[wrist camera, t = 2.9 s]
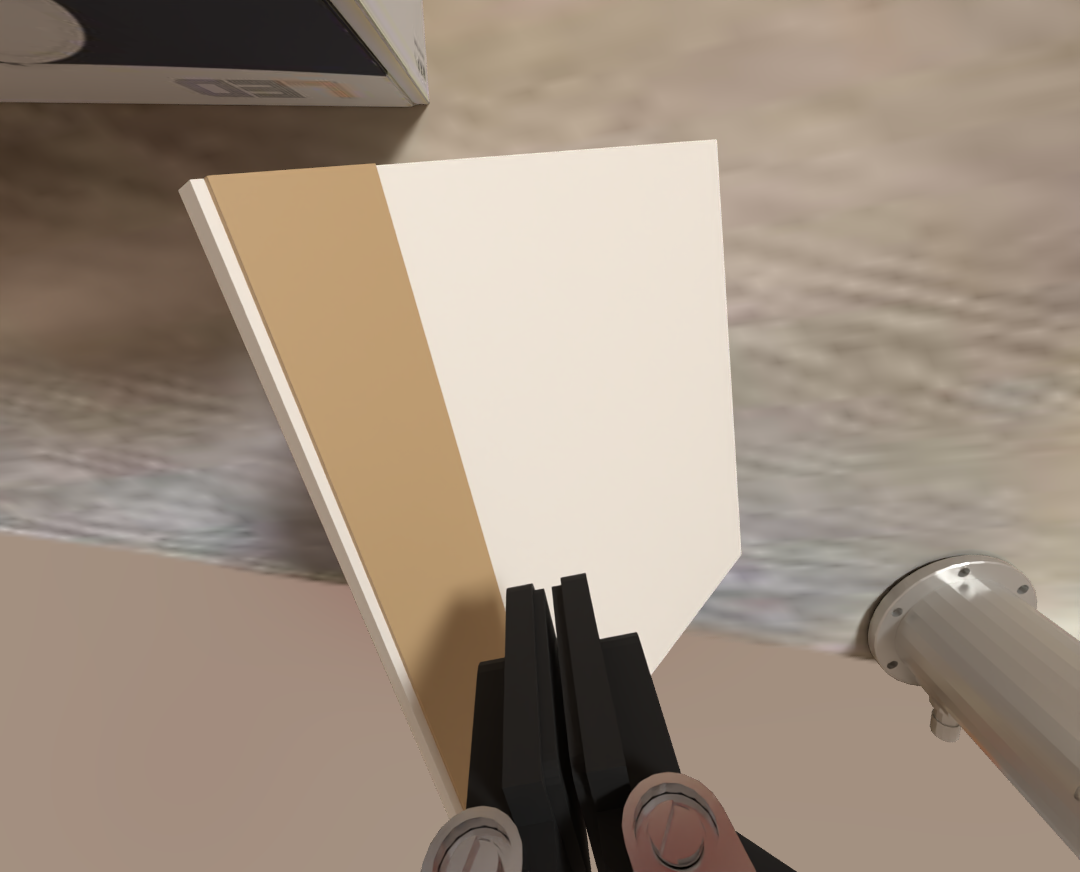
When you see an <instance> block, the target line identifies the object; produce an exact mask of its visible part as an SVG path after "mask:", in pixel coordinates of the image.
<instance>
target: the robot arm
mask: <svg viewBox="0 0 1080 872" xmlns="http://www.w3.org/2000/svg"><path fill="white" fill-rule="evenodd" d="M560 580H561V585H558V586H553V587H552V597H553V606H554V616H555V625H556V634H555V630H554V626H553V622H552V618H551V614H550V610H549V606H548V602H547V598H546V594H545V590H544V588H543V589H538V590H535V588H534V585H533V584H532V583H531V584H526V585H521V586H516V587H510V588H507V589H506V621H505V657H504V658H499V659H493V660H488V661H483V662H480V663H479V665H478V671H477V681H476V693H475V705H474V717H473V729H472V742H471V754H470V766H469V778H468V790H467V803H466V810H464V811H462V812H461V813H459V814H457V815H455V816H453V817H452V818H451V819H450V820H449V821H448V822H447V823H446V824H445V825H444V826H443V827H442V828H441V829H440V830H439V832H438V833H437V835H436V836H435V838H434V839H433V841H432V842H431V843H430V846H429V848H428V851H427V854H426V856H425V859H424V861H423V865H422V869H421V872H591V866H590V857H589V849H588V841H587V833H586V829H587V832H588V836H589V840H590V843H591V847H592V851H593V854H594V858H595V862H596V866H597V869H598V872H796V871H795V870H793V869H792V868H790V867H789V866H787V865H786V864H784V863H783V862H781V861H780V860H778V859H777V858H775V857H774V856H772V855H771V854H769V853H768V852H766V851H765V850H763V849H762V848H760V847H759V846H757V845H756V844H754V843H753V842H751V841H750V840H748V839H747V838H745V837H744V836H742V835H741V834H739V833H738V832H736V831H735V829H734V828H733V826H732V824H731V822H730V820H729V818H728V816H727V814H726V812H725V810H724V808H723V807H722V805H721V804H720V802H719V801H718V799H717V798H716V796H715V795H714V794H713V792H711V791H710V790H709V789H708V788H707V787H706V786H704V785H703V784H702V783H701V782H700V781H698V780H696V779H694V778H692V777H689V776H687V775H685V774H681V773H680V769H679V766H678V762H677V759H676V756H675V753H674V749H673V746H672V743H671V740H670V736H669V733H668V730H667V726H666V723H665V720H664V717H663V713H662V710H661V707H660V704H659V700H658V697H657V694H656V691H655V687H654V684H653V681H652V678H651V674H650V671H649V668H648V665H647V661H646V658H645V655H644V652H643V648H642V645H641V642H640V639H639V636H638V633H637V632H634V633H628V634H623V635H618V636H613V637H608V638H603V639H600V638H599V634H598V629H597V624H596V619H595V615H594V610H593V605H592V600H591V596H590V591H589V586H588V581H587V577H586V573H582V574H576V575H571V576H566V577H561V578H560ZM1036 609H1037V597H1036V592H1035V589H1034V587H1033V585H1032V583H1031V581H1030V580H1029V579H1028V578H1027V577H1026V576H1025V575H1024V574H1023V573H1022V572H1021V571H1019V570H1018V569H1016V568H1015V567H1013V566H1012V565H1011V564H1009V563H1007V562H1005V561H1003V560H1000V559H998V558H995V557H990V556H985V555H963V556H956V557H950V558H947V559H943V560H940V561H937V562H934V563H932V564H929V565H927V566H925V567H923V568H920V569H918V570H917V571H915V572H914V573H912V574H910V575H909V576H907V577H905V578H904V579H903V580H902V581H901V582H899V583H898V584H897V585H896V586H894V587H893V588H892V589H891V590H890V591H889V593H888V594H887V595H886V596H885V597H884V598H883V599H882V601H881V602H880V604H879V605H878V607H877V608H876V610H875V612H874V615H873V617H872V619H871V622H870V625H869V631H868V644H869V648H870V651H871V653H872V656H873V657H874V658H875V660H876V661H877V662H878V664H879V665H880V666H881V667H882V668H883V669H884V670H885V671H886V673H888V674H889V675H890V676H892V677H894V678H895V679H896V680H898V681H901V682H904V683H907V684H911V685H917V686H922V688H923V689H924V690H925V691H926V692H927V694H928V695H929V701H930V703H931V704H932V706H933V707H934V709H933V711H932V715H931V721H930V728H931V731H932V733H933V734H934V735H935V736H936V737H938V738H939V739H941V740H943V741H947V742H956V741H957V740H959V735H960V730H961V727H962V729H964V731H965V732H966V733H967V734H968V735H969V736H970V737H971V739H972V740H973V741H974V742H975V743H976V744H977V745H978V746H979V747H980V749H981V750H982V751H983V752H984V753H985V754H986V755H987V756H988V758H989V759H990V760H991V761H992V762H993V763H994V764H995V765H996V766H997V768H998V769H999V770H1000V771H1001V772H1002V773H1003V774H1004V776H1005V777H1006V778H1007V779H1008V780H1009V781H1010V782H1011V783H1012V785H1013V786H1014V787H1015V788H1016V789H1017V790H1018V791H1019V792H1020V793H1021V795H1022V796H1023V797H1024V798H1025V799H1026V800H1027V801H1028V802H1029V804H1030V805H1031V806H1032V807H1033V808H1034V809H1035V810H1036V811H1037V812H1038V814H1039V815H1040V816H1041V817H1042V818H1043V819H1044V820H1045V821H1046V823H1047V824H1048V825H1049V826H1050V827H1051V828H1052V829H1053V830H1054V831H1055V832H1056V834H1057V835H1058V836H1059V837H1060V838H1061V839H1062V840H1063V842H1064V843H1065V844H1066V845H1067V846H1068V847H1069V848H1070V849H1071V851H1072V852H1073V853H1074V854H1075V855H1076V856H1077V857H1078V858H1079V859H1080V641H1079V640H1077V639H1076V638H1075V637H1073V636H1072V635H1070V634H1069V633H1068V632H1066V631H1065V630H1064V629H1062V628H1061V627H1059V626H1058V625H1057V624H1055V623H1054V622H1053V621H1051V620H1050V619H1049V618H1047V617H1046V616H1044V615H1043V614H1042V613H1040V612H1039V611H1038V610H1036ZM556 635H557V638H556Z"/></svg>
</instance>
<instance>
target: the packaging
mask: <svg viewBox="0 0 1080 872" xmlns="http://www.w3.org/2000/svg"><path fill="white" fill-rule="evenodd" d="M0 102H43V103H127V104H210V105H294V106H378V107H412V106H413V105H417V104H427V105H428V103H429V88H428V73H427V58H426V44H425V29H424V14H423V0H0Z"/></svg>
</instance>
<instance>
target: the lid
mask: <svg viewBox="0 0 1080 872" xmlns="http://www.w3.org/2000/svg"><path fill="white" fill-rule="evenodd" d="M178 191H179V194H180V196H181V198H182V201H183V203H184V205H185V208H186V210H187V212H188V215H189V217H190V219H191V221H192V224H193V226H194V228H195V231H196V233H197V235H198V238H199V240H200V242H201V245H202V247H203V249H204V252H205V254H206V256H207V259H208V261H209V263H210V266H211V268H212V270H213V272H214V275H215V277H216V279H217V282H218V284H219V286H220V289H221V291H222V293H223V296H224V298H225V300H226V303H227V305H228V307H229V310H230V312H231V314H232V317H233V319H234V321H235V323H236V326H237V328H238V330H239V333H240V335H241V337H242V340H243V342H244V344H245V347H246V349H247V351H248V354H249V356H250V358H251V361H252V363H253V365H254V367H255V370H256V372H257V374H258V377H259V379H260V381H261V384H262V386H263V388H264V391H265V393H266V395H267V398H268V400H269V402H270V405H271V407H272V409H273V412H274V414H275V416H276V418H277V421H278V423H279V425H280V428H281V430H282V432H283V435H284V437H285V439H286V442H287V444H288V446H289V449H290V451H291V453H292V456H293V458H294V460H295V462H296V465H297V467H298V469H299V472H300V474H301V476H302V479H303V481H304V483H305V486H306V488H307V490H308V493H309V495H310V497H311V500H312V502H313V504H314V507H315V509H316V511H317V513H318V516H319V518H320V520H321V523H322V525H323V527H324V530H325V532H326V534H327V537H328V539H329V541H330V544H331V546H332V548H333V551H334V553H335V555H336V557H337V560H338V562H339V564H340V567H341V569H342V571H343V574H344V576H345V578H346V581H347V583H348V585H349V588H350V590H351V592H352V594H353V597H354V599H355V602H356V604H357V606H358V608H359V611H360V613H361V615H362V617H363V620H364V622H365V625H366V627H367V629H368V632H369V634H370V636H371V639H372V641H373V643H374V646H375V648H376V650H377V652H378V655H379V657H380V659H381V662H382V664H383V666H384V669H385V671H386V673H387V676H388V678H389V680H390V683H391V685H392V687H393V689H394V692H395V694H396V697H397V699H398V701H399V703H400V706H401V708H402V710H403V713H404V715H405V717H406V720H407V722H408V724H409V727H410V729H411V731H412V733H413V736H414V738H415V740H416V743H417V745H418V748H419V750H420V752H421V754H422V757H423V759H424V761H425V764H426V766H427V768H428V771H429V773H430V775H431V778H432V780H433V782H434V784H435V787H436V789H437V791H438V794H439V796H440V798H441V801H442V803H443V805H444V808H445V810H446V812H447V815H448V817H449V819H451V818H452V817H453V816H455V815H457V814H459V813H461V812H462V811H464V810H466V803H467V790H468V778H469V766H470V754H471V742H472V729H473V717H474V705H475V693H476V681H477V671H478V665H479V663H480V662H483V661H488V660H493V659H499V658H504V657H505V621H506V589H507V588H510V587H516V586H521V585H526V584H531V583H532V584H533V585H534V588H535V590H538V589H543V588H544V590H545V594H546V598H547V602H548V606H549V610H550V614H551V618H552V622H553V626H554V630H555V634H556V625H555V616H554V606H553V597H552V587H553V586H558V585H561V580H560V578H561V577H566V576H571V575H576V574H582V573H586V577H587V581H588V586H589V591H590V596H591V600H592V605H593V610H594V615H595V619H596V624H597V629H598V634H599V638H600V639H603V638H608V637H613V636H618V635H623V634H628V633H634V632H637V633H638V636H639V639H640V642H641V645H642V648H643V652H644V655H645V658H646V661H647V665H648V668H649V671H650V674H652V673H653V672H654V670H655V669H656V667H657V666H658V665H659V664H660V662H661V661H662V660H663V658H664V657H665V656H666V654H667V653H668V652H669V650H670V649H671V648H672V646H673V645H674V644H675V642H676V641H677V639H678V638H679V637H680V636H681V634H682V633H683V632H684V630H685V629H686V628H687V626H688V625H689V624H690V622H691V621H692V620H693V618H694V617H695V616H696V614H697V613H698V612H699V610H700V609H701V608H702V606H703V605H704V604H705V602H706V601H707V600H708V598H709V597H710V596H711V594H712V593H713V592H714V590H715V589H716V588H717V586H718V585H719V584H720V582H721V581H722V580H723V578H724V577H725V576H726V574H727V573H728V572H729V570H730V569H731V568H732V566H733V565H734V564H735V562H736V561H737V560H738V558H739V557H740V556H741V539H740V522H739V506H738V489H737V472H736V455H735V438H734V421H733V404H732V387H731V371H730V354H729V337H728V320H727V303H726V286H725V269H724V252H723V236H722V219H721V202H720V185H719V168H718V151H717V139H714V140H701V141H688V142H675V143H662V144H649V145H636V146H623V147H610V148H597V149H584V150H571V151H558V152H545V153H531V154H518V155H505V156H492V157H479V158H466V159H453V160H440V161H427V162H414V163H401V164H388V165H376V163H373V164H359V165H345V166H332V167H318V168H305V169H291V170H277V171H264V172H250V173H237V174H223V175H209V176H206V177H205V178H204V179H192V180H189V181H188V182H187V183H186V184H185V185H183V186H182V187H181V188H180V189H179V190H178ZM556 638H557V635H556Z"/></svg>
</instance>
